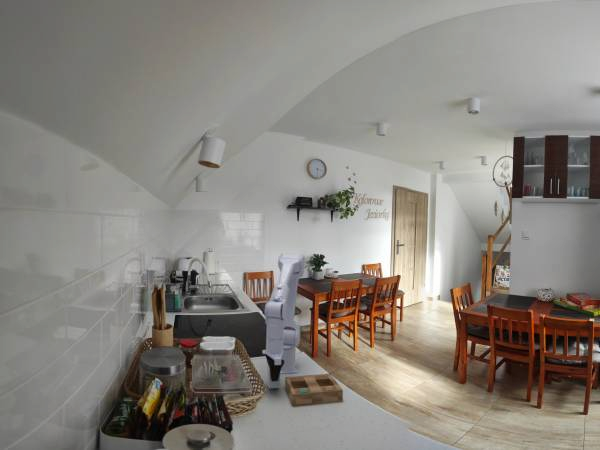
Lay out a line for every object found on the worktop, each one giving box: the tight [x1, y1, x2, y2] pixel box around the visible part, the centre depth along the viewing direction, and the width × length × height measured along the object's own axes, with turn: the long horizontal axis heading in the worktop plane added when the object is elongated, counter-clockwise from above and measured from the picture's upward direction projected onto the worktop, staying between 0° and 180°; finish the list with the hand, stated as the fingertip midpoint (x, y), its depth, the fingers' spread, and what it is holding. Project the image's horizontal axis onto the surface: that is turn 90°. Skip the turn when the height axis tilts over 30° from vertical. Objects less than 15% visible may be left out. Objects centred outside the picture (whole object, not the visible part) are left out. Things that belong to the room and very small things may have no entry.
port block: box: [284, 373, 344, 407], centre depth 105 cm, size 12×16×4 cm
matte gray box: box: [266, 364, 281, 389], centre depth 108 cm, size 4×4×7 cm
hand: (273, 378), depth 108 cm, fingers closed on matte gray box, 4 cm apart
